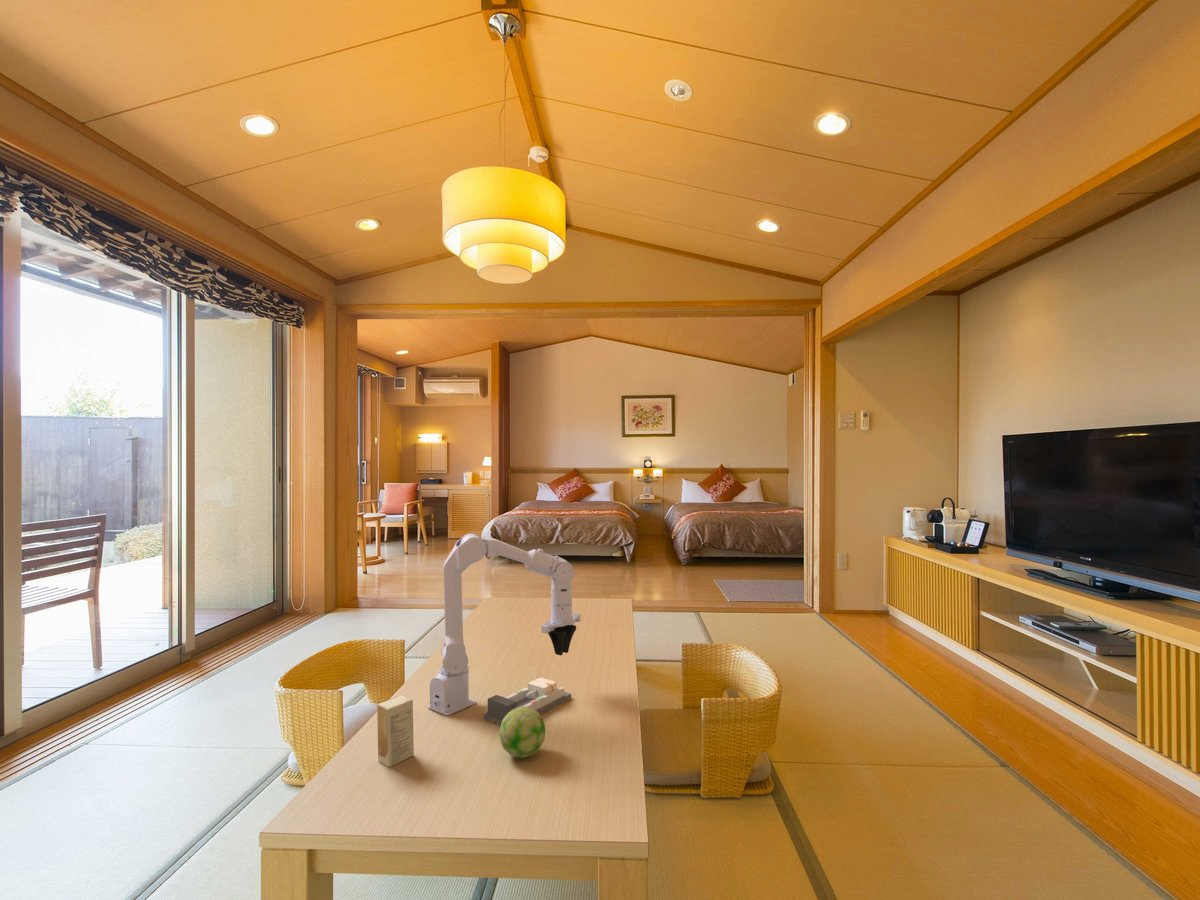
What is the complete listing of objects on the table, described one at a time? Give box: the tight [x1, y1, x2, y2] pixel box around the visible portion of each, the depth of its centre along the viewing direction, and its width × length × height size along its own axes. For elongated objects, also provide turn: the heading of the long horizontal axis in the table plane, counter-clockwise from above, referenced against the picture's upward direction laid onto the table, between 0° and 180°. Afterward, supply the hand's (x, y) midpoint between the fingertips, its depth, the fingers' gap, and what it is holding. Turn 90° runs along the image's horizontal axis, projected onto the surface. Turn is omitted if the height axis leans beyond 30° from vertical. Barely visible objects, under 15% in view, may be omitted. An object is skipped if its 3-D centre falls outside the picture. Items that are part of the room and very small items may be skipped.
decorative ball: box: [499, 707, 546, 759], centre depth 125 cm, size 10×10×10 cm
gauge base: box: [482, 686, 572, 726], centre depth 148 cm, size 22×10×5 cm, turn 144°
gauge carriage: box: [526, 677, 558, 699], centre depth 151 cm, size 8×7×4 cm
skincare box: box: [376, 694, 415, 768], centre depth 124 cm, size 6×4×12 cm
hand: (561, 653), depth 159 cm, fingers closed
